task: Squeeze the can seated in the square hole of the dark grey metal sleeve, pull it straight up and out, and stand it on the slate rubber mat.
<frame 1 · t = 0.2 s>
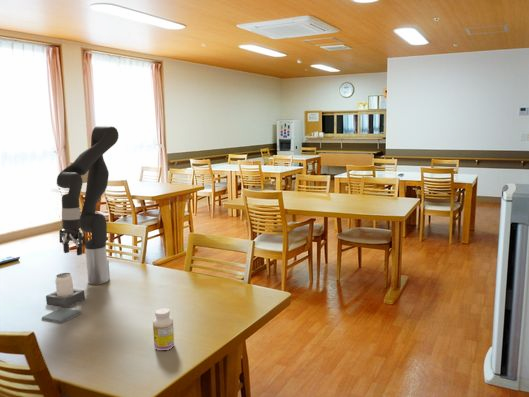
hand: (72, 253, 205), 18 cm above the table, tool pointing down, fingers open, 8 cm apart
mat: (61, 316, 183), on the table
can: (66, 302, 197), resting in sleeve
supplement bottle: (164, 347, 156), on the table
sleeve: (66, 301, 197), on the table
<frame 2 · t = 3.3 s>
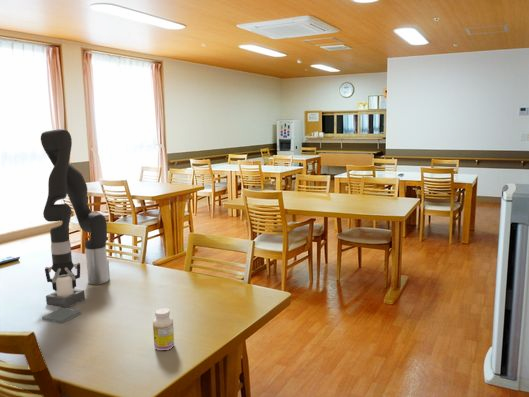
hand: (64, 289, 196), 6 cm above the table, tool pointing down, fingers closed on can, 6 cm apart
can: (66, 302, 197), resting in sleeve, touching gripper
everything else where it was.
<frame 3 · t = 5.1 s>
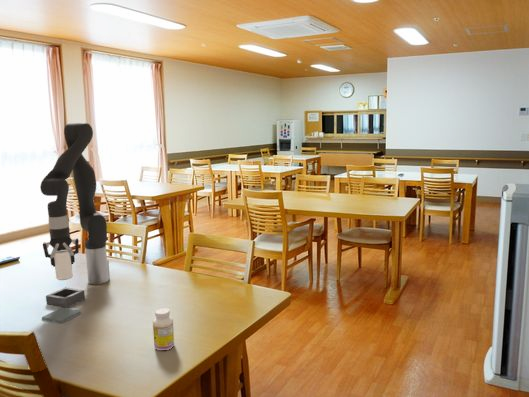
hand: (63, 264, 195), 16 cm above the table, tool pointing down, fingers closed on can, 6 cm apart
can: (64, 278, 196), point 10 cm above the table, touching gripper
everything else where it was.
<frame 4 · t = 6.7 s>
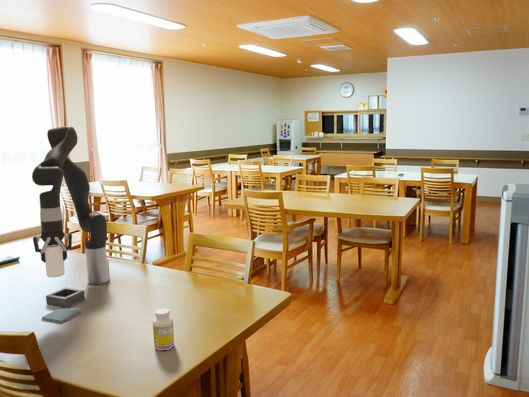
hand: (54, 260, 180), 22 cm above the table, tool pointing down, fingers closed on can, 6 cm apart
can: (55, 275, 181), point 16 cm above the table, touching gripper
everything else where it was.
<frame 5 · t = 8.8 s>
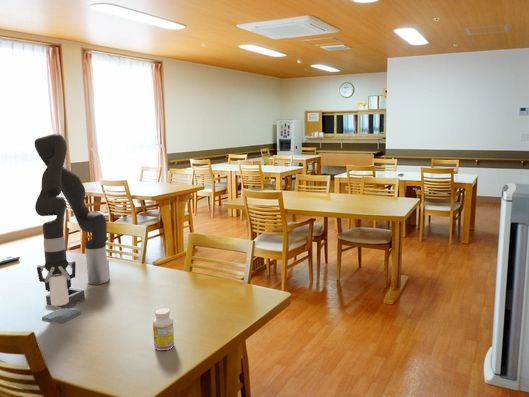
hand: (58, 289, 181), 11 cm above the table, tool pointing down, fingers closed on can, 6 cm apart
can: (60, 303, 182), point 5 cm above the table, touching gripper
everything else where it was.
when the fingers open (8 cm above the table, at t = 10.5 s): can stays where it is, resting on mat.
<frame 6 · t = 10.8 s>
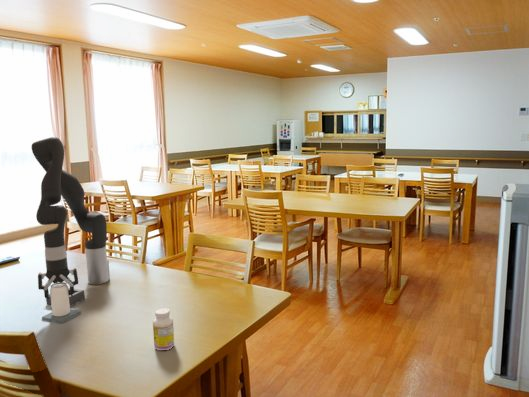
hand: (59, 296, 181), 8 cm above the table, tool pointing down, fingers open, 8 cm apart
can: (61, 314, 183), point 1 cm above the table, touching mat
everything else where it was.
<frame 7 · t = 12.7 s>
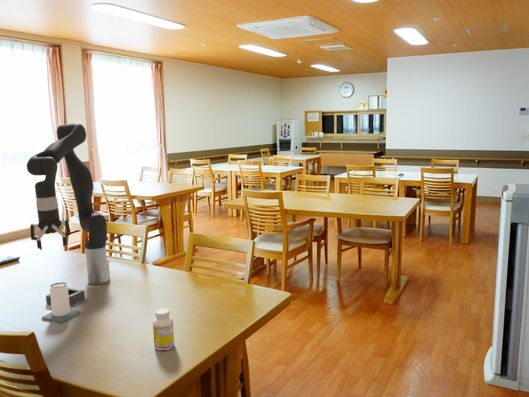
hand: (52, 247, 184), 26 cm above the table, tool pointing down, fingers open, 8 cm apart
nothing on the table moved.
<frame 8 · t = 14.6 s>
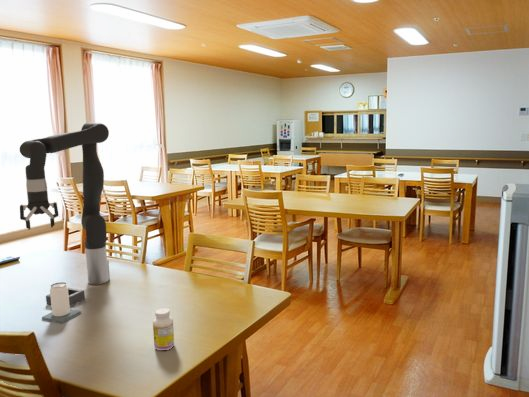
hand: (40, 228, 193), 32 cm above the table, tool pointing down, fingers open, 8 cm apart
nothing on the table moved.
at the end: can inside the target area on the mat (0.1 cm from its centre), point 0.8 cm above the mat's base; can tilted 0°; the gripper is holding nothing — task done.
